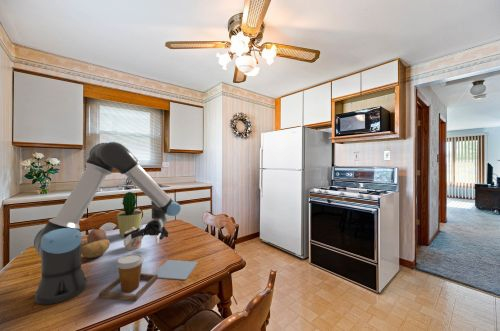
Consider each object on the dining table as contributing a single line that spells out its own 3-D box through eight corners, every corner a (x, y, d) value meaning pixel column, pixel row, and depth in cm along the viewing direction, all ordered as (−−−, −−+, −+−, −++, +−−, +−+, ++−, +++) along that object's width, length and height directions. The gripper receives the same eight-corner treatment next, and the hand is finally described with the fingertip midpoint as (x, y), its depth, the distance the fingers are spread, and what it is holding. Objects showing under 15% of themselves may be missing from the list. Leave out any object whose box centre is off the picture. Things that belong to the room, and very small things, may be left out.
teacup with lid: (132, 251, 121) (132, 230, 121) (120, 248, 124) (120, 228, 124) (149, 243, 133) (149, 224, 132) (137, 241, 136) (137, 223, 135)
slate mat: (150, 277, 95) (150, 276, 95) (168, 260, 111) (168, 259, 111) (185, 280, 93) (185, 279, 93) (198, 262, 109) (198, 261, 109)
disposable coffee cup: (148, 285, 89) (148, 257, 89) (124, 298, 81) (124, 266, 81) (135, 278, 94) (135, 251, 94) (111, 289, 86) (111, 259, 86)
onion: (90, 248, 132) (85, 233, 133) (108, 241, 137) (103, 226, 138) (89, 248, 124) (83, 231, 125) (107, 240, 129) (102, 224, 130)
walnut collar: (98, 297, 81) (98, 293, 81) (125, 276, 96) (125, 272, 96) (136, 301, 79) (136, 296, 79) (157, 278, 94) (157, 274, 94)
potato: (115, 252, 120) (115, 238, 120) (89, 263, 107) (89, 247, 106) (102, 249, 123) (102, 235, 123) (75, 260, 110) (75, 244, 110)
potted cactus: (146, 234, 149) (146, 191, 148) (121, 240, 137) (121, 193, 136) (137, 229, 159) (137, 188, 158) (113, 234, 147) (113, 190, 147)
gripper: (177, 232, 121) (169, 248, 100) (129, 234, 117) (111, 251, 96) (177, 218, 120) (169, 232, 99) (129, 220, 116) (110, 235, 95)
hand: (140, 241), depth 97 cm, fingers open, 13 cm apart
